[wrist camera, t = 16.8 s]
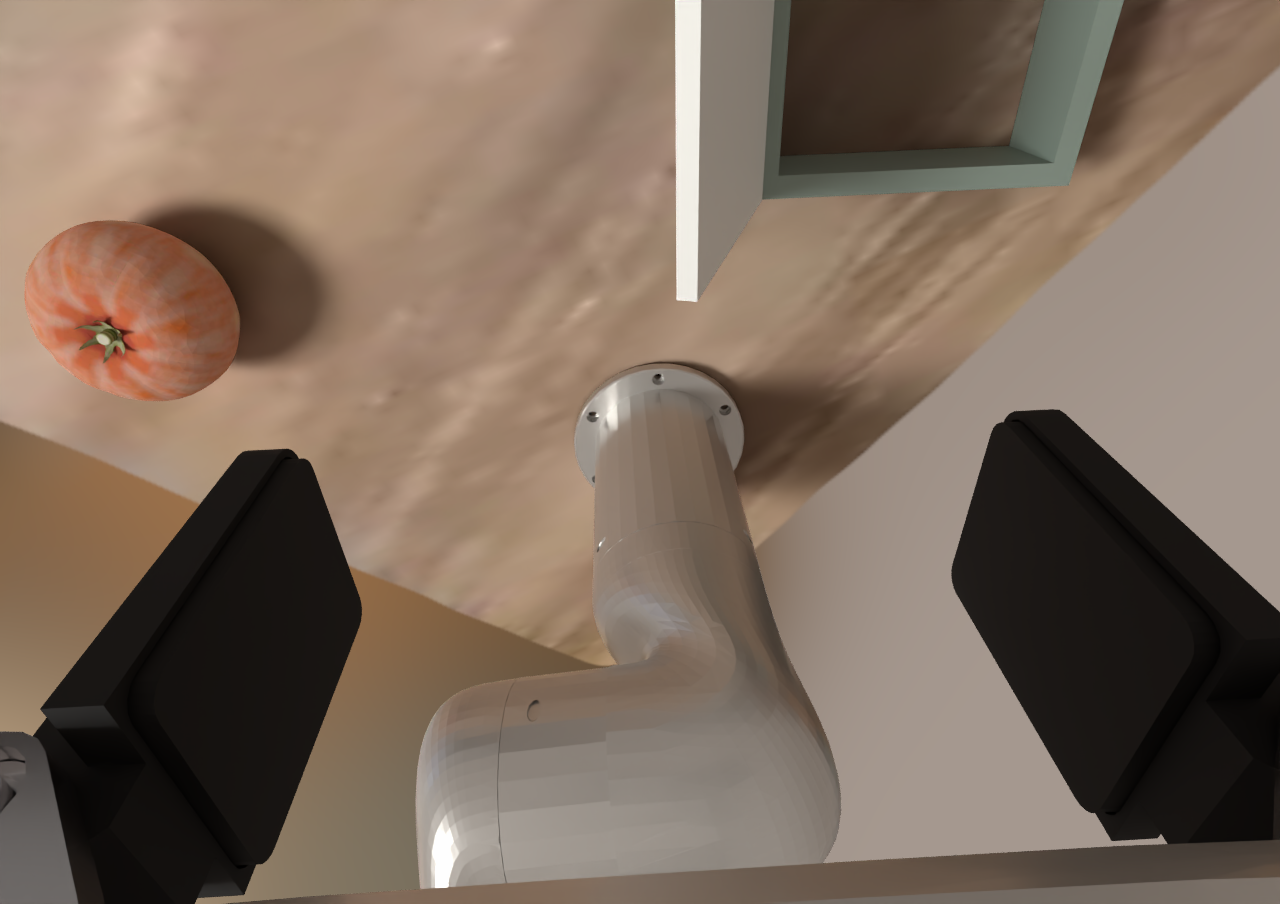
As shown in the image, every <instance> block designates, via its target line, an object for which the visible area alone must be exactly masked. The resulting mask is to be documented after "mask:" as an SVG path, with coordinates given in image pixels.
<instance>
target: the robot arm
mask: <svg viewBox="0 0 1280 904" xmlns="http://www.w3.org/2000/svg"><path fill="white" fill-rule="evenodd" d="M656 374H661V375H660V376H655V375H656ZM723 405H726V406H723ZM591 412H595V413H591ZM574 446H575V456H576V459H577V462H578V465H579V468H580V470H581V471H582V473H583V475H584V476H585V478H586V480H587V481H588V482H589V483H590V484H591V485H592V486H593V487H594V489H595V499H594V553H593V612H594V617H595V621H596V625H597V628H598V632H599V634H600V636H601V638H602V640H603V642H604V644H605V646H606V648H607V650H608V651H609V653H610V654H611V656H612V657H613V659H614V660H615V661H616V663H617V664H618V665H612V666H610V667H607V668H599V669H590V670H582V671H573V672H564V673H556V674H547V675H539V676H530V677H522V678H517V679H510V680H502V681H496V682H490V683H485V684H480V685H477V686H473V687H470V688H468V689H465V690H463V691H461V692H459V693H457V694H455V695H454V696H452V697H451V698H449V699H448V700H447V701H446V702H445V703H444V704H443V705H442V706H441V707H440V708H439V709H438V711H437V712H436V714H435V715H434V716H433V718H432V720H431V722H430V724H429V726H428V728H427V731H426V733H425V736H424V740H423V743H422V747H421V750H420V757H419V763H418V770H417V784H416V833H417V849H418V863H419V878H420V889H414V890H399V891H384V892H370V893H356V894H340V895H325V896H311V897H298V898H287V899H275V900H263V901H251V902H240V903H230V904H1280V612H1279V611H1278V610H1277V609H1276V608H1275V607H1274V606H1272V605H1271V604H1270V603H1269V602H1268V601H1267V600H1266V599H1265V598H1264V597H1263V596H1262V595H1260V594H1259V593H1258V592H1257V591H1256V590H1255V589H1254V588H1253V587H1252V586H1251V585H1250V584H1249V583H1248V582H1246V581H1245V580H1244V579H1243V578H1242V577H1241V576H1240V575H1239V574H1238V573H1237V572H1236V571H1235V570H1233V569H1232V568H1231V567H1230V566H1229V565H1228V564H1227V563H1226V562H1225V561H1224V560H1223V559H1222V558H1221V557H1219V556H1218V555H1217V554H1216V553H1215V552H1214V551H1213V550H1212V549H1211V548H1210V547H1209V546H1207V545H1206V544H1205V543H1204V542H1203V541H1202V540H1201V539H1200V538H1199V537H1198V536H1196V534H1195V533H1194V532H1192V531H1191V530H1190V529H1189V528H1188V527H1187V526H1186V525H1185V524H1184V523H1183V522H1181V521H1180V520H1179V519H1178V518H1177V517H1176V516H1175V515H1174V514H1173V513H1172V512H1171V511H1170V510H1169V509H1168V508H1167V507H1165V506H1164V505H1163V504H1162V503H1161V502H1160V501H1159V500H1158V499H1157V498H1156V497H1155V496H1153V495H1152V494H1151V493H1150V492H1149V491H1148V490H1147V489H1146V488H1145V487H1144V486H1143V485H1142V484H1140V483H1139V482H1138V481H1137V480H1136V479H1135V478H1134V477H1133V476H1132V475H1131V474H1130V473H1129V472H1128V471H1127V470H1125V469H1124V468H1123V467H1122V466H1121V465H1120V464H1119V463H1118V462H1117V461H1116V460H1115V459H1114V458H1112V457H1111V456H1110V455H1109V454H1108V453H1107V452H1106V451H1105V450H1104V449H1103V448H1102V447H1100V446H1099V445H1098V444H1097V443H1096V442H1095V441H1094V440H1093V439H1092V438H1091V437H1090V436H1089V435H1088V434H1086V433H1085V432H1084V431H1083V430H1082V429H1081V428H1080V427H1079V426H1078V425H1077V424H1076V423H1075V422H1074V421H1072V420H1071V419H1070V418H1069V417H1068V416H1067V415H1066V414H1065V413H1063V412H1062V411H1060V410H1053V409H1052V410H1031V411H1014V412H1012V413H1010V414H1009V415H1008V416H1007V417H1006V419H1005V421H1004V422H1001V423H998V424H996V426H995V427H994V428H993V430H992V433H991V436H990V439H989V442H988V446H987V449H986V453H985V456H984V459H983V463H982V467H981V470H980V473H979V476H978V480H977V484H976V487H975V490H974V493H973V497H972V500H971V504H970V507H969V510H968V514H967V517H966V521H965V524H964V527H963V531H962V534H961V538H960V541H959V544H958V548H957V551H956V555H955V558H954V561H953V566H952V583H953V586H954V589H955V592H956V594H957V595H958V597H959V599H960V601H961V602H962V604H963V606H964V607H965V609H966V611H967V612H968V614H969V616H970V618H971V619H972V621H973V623H974V625H975V626H976V628H977V630H978V631H979V633H980V635H981V637H982V638H983V640H984V642H985V643H986V645H987V647H988V649H989V650H990V652H991V653H992V655H993V657H994V659H995V661H996V662H997V664H998V666H999V668H1000V669H1001V671H1002V673H1003V675H1004V676H1005V678H1006V680H1007V681H1008V683H1009V685H1010V686H1011V688H1012V690H1013V692H1014V693H1015V695H1016V697H1017V699H1018V700H1019V702H1020V704H1021V705H1022V707H1023V709H1024V711H1025V712H1026V714H1027V716H1028V718H1029V719H1030V721H1031V723H1032V724H1033V726H1034V728H1035V730H1036V731H1037V733H1038V735H1039V736H1040V738H1041V740H1042V741H1043V743H1044V745H1045V747H1046V748H1047V750H1048V752H1049V754H1050V755H1051V757H1052V759H1053V761H1054V762H1055V764H1056V766H1057V767H1058V769H1059V771H1060V773H1061V774H1062V776H1063V778H1064V779H1065V781H1066V783H1067V785H1068V786H1069V788H1070V790H1071V791H1072V793H1073V795H1074V797H1075V798H1076V800H1077V801H1078V802H1079V804H1080V805H1081V806H1082V807H1083V808H1084V809H1085V810H1086V811H1088V812H1090V813H1095V814H1096V815H1097V817H1098V818H1099V820H1100V822H1101V823H1102V825H1103V827H1104V828H1105V830H1106V832H1107V834H1108V835H1109V837H1110V839H1111V840H1112V841H1120V840H1135V839H1136V840H1137V839H1151V838H1152V839H1153V838H1158V837H1159V836H1160V834H1162V836H1163V837H1164V839H1165V840H1166V842H1167V843H1168V844H1162V845H1135V846H1113V847H1094V848H1077V849H1062V850H1043V851H1024V852H1008V853H990V854H972V855H954V856H938V857H919V858H903V859H884V860H867V861H851V862H834V863H823V862H824V860H825V859H826V857H827V856H828V854H829V853H830V851H831V849H832V847H833V844H834V842H835V840H836V837H837V833H838V829H839V822H840V815H841V793H840V785H839V779H838V773H837V770H836V766H835V762H834V758H833V755H832V751H831V748H830V745H829V742H828V739H827V736H826V734H825V732H824V729H823V727H822V724H821V722H820V720H819V717H818V715H817V713H816V711H815V709H814V707H813V705H812V703H811V701H810V699H809V697H808V695H807V693H806V691H805V689H804V687H803V685H802V683H801V681H800V679H799V677H798V675H797V674H796V671H795V669H794V667H793V665H792V663H791V661H790V658H789V656H788V654H787V651H786V649H785V647H784V644H783V642H782V640H781V637H780V635H779V631H778V629H777V626H776V623H775V620H774V617H773V614H772V611H771V607H770V604H769V601H768V597H767V594H766V591H765V587H764V583H763V580H762V576H761V572H760V569H759V565H758V561H757V557H756V553H755V549H754V546H753V542H752V538H751V534H750V531H749V527H748V523H747V520H746V516H745V512H744V508H743V505H742V501H741V497H740V493H739V490H738V486H737V482H736V478H735V475H734V470H735V469H736V467H737V465H738V463H739V460H740V458H741V455H742V452H743V446H744V426H743V423H742V419H741V415H740V413H739V410H738V408H737V406H736V403H735V401H734V400H733V398H732V397H731V396H730V394H729V393H728V391H727V390H726V389H725V388H724V387H723V386H722V385H720V384H719V383H718V382H717V381H716V380H715V379H713V378H711V377H710V376H708V375H706V374H705V373H703V372H701V371H698V370H695V369H692V368H690V367H687V366H681V365H676V364H648V365H643V366H637V367H634V368H631V369H629V370H626V371H623V372H620V373H619V374H617V375H615V376H613V377H612V378H610V379H608V380H607V381H605V382H604V383H603V384H602V385H601V386H599V387H598V388H597V389H596V390H595V391H594V392H593V393H592V394H591V396H590V397H589V398H588V400H587V401H586V402H585V404H584V406H583V408H582V410H581V412H580V414H579V416H578V419H577V424H576V428H575V438H574ZM361 616H362V607H361V600H360V597H359V594H358V591H357V588H356V586H355V583H354V580H353V577H352V575H351V572H350V569H349V566H348V564H347V561H346V558H345V555H344V553H343V550H342V547H341V544H340V542H339V539H338V536H337V533H336V531H335V528H334V525H333V522H332V520H331V517H330V514H329V511H328V508H327V506H326V503H325V500H324V497H323V495H322V492H321V489H320V486H319V484H318V481H317V478H316V475H315V473H314V470H313V468H312V465H311V463H310V462H309V461H308V460H306V459H299V458H298V456H297V455H296V454H295V453H294V452H293V451H292V450H290V449H273V450H253V451H245V452H242V453H241V454H240V455H239V456H237V458H236V459H235V460H234V462H233V463H232V464H231V465H230V467H229V468H228V469H227V471H226V472H225V473H224V474H223V476H222V477H221V478H220V479H219V481H218V482H217V483H216V485H215V486H214V487H213V488H212V490H211V491H210V492H209V494H208V495H207V496H206V497H205V499H204V500H203V501H202V503H201V504H200V505H199V506H198V508H197V509H196V510H195V511H194V513H193V514H192V515H191V517H190V518H189V519H188V520H187V522H186V523H185V524H184V526H183V527H182V528H181V529H180V531H179V532H178V533H177V534H176V536H175V537H174V538H173V540H172V541H171V542H170V543H169V545H168V546H167V547H166V549H165V550H164V551H163V553H162V554H161V555H160V556H159V558H158V559H157V560H156V562H155V563H154V564H153V565H152V566H151V568H150V569H149V570H148V572H147V573H146V574H145V575H144V577H143V578H142V579H141V581H140V582H139V583H138V585H137V586H136V587H135V588H134V590H133V591H132V592H131V593H130V595H129V596H128V597H127V598H126V600H125V601H124V602H123V604H122V605H121V606H120V608H119V609H118V610H117V611H116V613H115V614H114V615H113V616H112V618H111V619H110V620H109V622H108V623H107V624H106V625H105V627H104V628H103V629H102V630H101V632H100V633H99V634H98V636H97V637H96V638H95V639H94V641H93V642H92V643H91V645H90V646H89V647H88V648H87V650H86V651H85V652H84V654H83V655H82V656H81V657H80V659H79V660H78V661H77V662H76V664H75V665H74V666H73V668H72V669H71V670H70V671H69V673H68V674H67V675H66V677H65V678H64V679H63V680H62V682H61V683H60V684H59V685H58V687H57V688H56V689H55V691H54V692H53V693H52V694H51V696H50V697H49V698H48V700H47V701H46V702H45V704H44V705H43V706H42V707H41V711H42V712H43V713H44V714H45V716H46V717H47V718H46V720H45V721H44V722H43V723H42V725H41V726H40V727H39V729H38V730H37V731H36V733H35V734H34V735H33V736H31V735H28V734H26V733H24V732H0V904H195V902H196V900H197V898H204V897H220V896H237V895H244V894H245V891H246V889H247V886H248V884H249V881H250V879H251V876H252V874H253V871H254V868H255V866H256V864H263V863H264V862H265V861H267V860H268V858H269V857H270V856H271V854H272V852H273V850H274V848H275V845H276V843H277V840H278V837H279V835H280V832H281V830H282V827H283V824H284V822H285V819H286V816H287V814H288V811H289V809H290V806H291V804H292V801H293V798H294V796H295V793H296V791H297V788H298V785H299V783H300V780H301V778H302V775H303V772H304V769H305V767H306V764H307V762H308V759H309V756H310V754H311V751H312V749H313V746H314V743H315V741H316V738H317V736H318V733H319V731H320V728H321V725H322V723H323V720H324V717H325V715H326V712H327V710H328V707H329V704H330V702H331V699H332V696H333V694H334V691H335V688H336V686H337V683H338V681H339V678H340V676H341V673H342V670H343V668H344V665H345V663H346V660H347V657H348V655H349V652H350V650H351V647H352V644H353V642H354V639H355V637H356V634H357V631H358V629H359V626H360V622H361ZM228 904H229V903H228Z"/></svg>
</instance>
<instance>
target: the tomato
mask: <svg viewBox="0 0 1280 904" xmlns="http://www.w3.org/2000/svg"><path fill="white" fill-rule="evenodd" d="M25 304H26V310H27V314H28V317H29V320H30V324H31V327H32V329H33V331H34V333H35V335H36V337H37V339H38V340H39V341H40V342H41V344H42V345H43V346H44V347H45V348H46V349H47V350H48V351H49V352H50V353H51V354H52V355H53V357H54V358H55V359H56V360H57V362H58V363H59V364H60V365H62V366H63V367H64V368H65V369H66V370H67V371H68V372H70V373H71V374H73V375H74V376H75V377H77V378H78V379H80V380H81V381H83V382H84V383H86V384H88V385H90V386H92V387H95V388H97V389H100V390H103V391H106V392H109V393H112V394H114V395H117V396H120V397H124V398H129V399H135V400H144V401H169V400H174V399H180V398H183V397H186V396H189V395H192V394H194V393H196V392H198V391H200V390H202V389H204V388H205V387H207V386H208V385H210V384H211V383H213V382H214V381H215V380H217V379H218V378H219V377H220V376H221V375H222V374H223V373H224V372H225V371H226V370H227V369H228V367H229V366H230V365H231V363H232V361H233V359H234V357H235V354H236V351H237V347H238V341H239V335H240V316H239V312H238V308H237V305H236V302H235V299H234V297H233V295H232V293H231V291H230V288H229V287H228V285H227V284H226V282H225V280H224V279H223V277H222V276H221V274H220V273H219V272H218V270H217V269H216V268H215V267H214V266H213V265H212V264H211V263H210V261H209V260H208V259H207V258H206V257H204V256H203V255H202V254H201V253H200V252H198V251H197V250H195V249H194V248H193V247H191V246H190V245H188V244H187V243H185V242H183V241H182V240H180V239H178V238H176V237H174V236H172V235H170V234H168V233H165V232H163V231H160V230H158V229H155V228H152V227H150V226H146V225H142V224H138V223H134V222H126V221H95V222H88V223H84V224H80V225H77V226H74V227H72V228H70V229H68V230H66V231H63V232H62V233H60V234H59V235H57V236H56V237H54V238H53V239H52V240H50V241H49V242H48V243H47V244H46V245H45V246H44V247H43V248H42V249H41V250H40V251H39V252H38V253H37V255H36V257H35V258H34V260H33V262H32V263H31V265H30V266H29V269H28V271H27V273H26V280H25Z"/></svg>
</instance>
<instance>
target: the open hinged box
mask: <svg viewBox="0 0 1280 904" xmlns="http://www.w3.org/2000/svg"><path fill="white" fill-rule="evenodd" d="M1123 2H1124V0H1045V1H1044V5H1043V9H1042V13H1041V17H1040V21H1039V25H1038V30H1037V34H1036V38H1035V42H1034V46H1033V50H1032V54H1031V58H1030V62H1029V66H1028V71H1027V75H1026V79H1025V83H1024V87H1023V91H1022V95H1021V99H1020V103H1019V107H1018V111H1017V116H1016V120H1015V124H1014V128H1013V132H1012V136H1011V140H1010V144H1009V146H993V147H970V148H948V149H926V150H904V151H881V152H859V153H837V154H815V155H793V156H780V147H781V134H782V120H783V107H784V93H785V79H786V66H787V52H788V39H789V25H790V12H791V0H675V42H676V264H677V300H682V301H694V302H697V301H698V300H699V298H700V297H701V295H702V294H703V292H704V290H705V289H706V287H707V286H708V284H709V283H710V281H711V279H712V278H713V276H714V275H715V273H716V272H717V270H718V268H719V267H720V265H721V264H722V262H723V261H724V259H725V258H726V256H727V254H728V253H729V251H730V250H731V248H732V247H733V245H734V243H735V242H736V240H737V239H738V237H739V236H740V234H741V232H742V231H743V229H744V228H745V226H746V225H747V223H748V221H749V220H750V218H751V217H752V215H753V214H754V212H755V211H756V209H757V207H758V206H759V204H760V203H761V201H762V199H783V198H805V197H827V196H848V195H870V194H892V193H914V192H935V191H957V190H979V189H1000V188H1022V187H1044V186H1066V185H1069V183H1070V180H1071V176H1072V173H1073V170H1074V166H1075V163H1076V160H1077V156H1078V153H1079V150H1080V146H1081V143H1082V139H1083V136H1084V133H1085V129H1086V126H1087V123H1088V119H1089V116H1090V113H1091V109H1092V106H1093V102H1094V99H1095V96H1096V92H1097V89H1098V86H1099V82H1100V79H1101V76H1102V72H1103V69H1104V66H1105V62H1106V59H1107V55H1108V52H1109V49H1110V45H1111V42H1112V39H1113V35H1114V32H1115V29H1116V25H1117V22H1118V19H1119V15H1120V12H1121V8H1122V5H1123Z"/></svg>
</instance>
